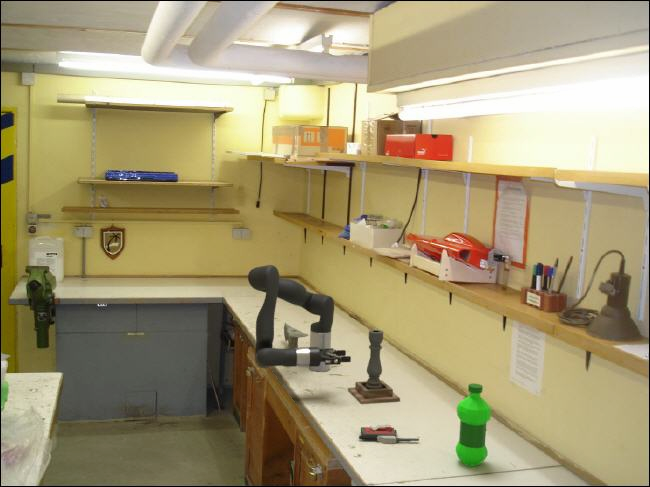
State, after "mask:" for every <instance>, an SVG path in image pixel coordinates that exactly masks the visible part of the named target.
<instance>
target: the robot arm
mask: <svg viewBox="0 0 650 487" xmlns="http://www.w3.org/2000/svg"><path fill="white" fill-rule="evenodd" d="M247 281H248V283H249V285H250V287H251V288H252V289H254V290H256V291H259V292H262V293H265V297H264V301H263V303H262V306H261V308H260V310H259V312H258V315H257V317H256V319H255V320H256V321H255V348H254V362H255V364H256V365H257V367H259V368H262V369H267V368H269V367H281V366H282V367H283V368H285V367H286V368H287V367H288V368H289V367H291V368H292V367H293V368H294V367H295V368H296V367H298V368H308V369H309V370H311V371H312V372H327V371H330V369H331V366H333V365H335V366H336V365H337V366H338V365H339V366H340V365H341V364H342V363H351V362H352V361H351V360H352V356H350V355H347V354H346V353H347V352H346V350H345V349H334V348H333V347H331V346H332V343H331V342H332V327H333V325H334V324H333V323H334V315H335V314H334V313H335V301H334V299H333V297H332V296H331V295H327V294H321V293H313V292H309V290H307V289H306V287H305V286H304V285H303V284H301V283H300V282H298V281H296V280H293V279H290V278H283V277H280V272H279V270H278V268H277V267H276V266H275V265H272V264H268V265H261V266H256V267H254V268H252V269H251V270H250V271H249V272H248V274H247ZM278 299H280V300H283V302H287V303H289V304H290V305H294V306H297V307H301V308H303V309H304V310H305V311H306V312H308V313H310V314H312V315H315V316H319V320H318V321H315V322H312V323H311V324H310V334H309V336H310V337H309V346H307V347H306V346H305V347H303V346H302V347H298V348H288V347H287V348H277V347H273V345H274V344H273V342H274V338H275V313H276V306H277V300H278ZM346 355H347V356H346Z"/></svg>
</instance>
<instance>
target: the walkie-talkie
mask: <svg viewBox="0 0 650 487" xmlns="http://www.w3.org/2000/svg"><path fill="white" fill-rule="evenodd" d="M397 436H398V433H397V429H395V428H394V427H392V426H391V425H389V424H378V425H377V426H373V425H369V427H367V426H363V427H362V426H361V427H360V435H359V436H358V439H359V440H362V441H363V442H378V443H381V444H395V445H396V443H399V442H407V443H408V442H420V438H409V437H408V438H406V437H404V438H403V437H401V438H400V437H397Z"/></svg>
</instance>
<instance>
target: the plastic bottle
mask: <svg viewBox="0 0 650 487" xmlns="http://www.w3.org/2000/svg"><path fill="white" fill-rule="evenodd" d="M483 388H484V387H483V385H482V384H479V383H469V384H468V387H467V391H468V392H469V395H468V396H467V397H465V398H463V400H461V401H460V402H458V404H457V406H456V414H457V416H458V419H459V420H460V422H459V424H460V425H459V439H458V442H457V444H456V446H455V453H456V456H457V457H458V459H459V460H460V461H461V462H462V464H464V465H466V466H468V467H477V466H479V465H480V464H482V463H483V462H484V461H485V460H486V459H487V456H488V454H489V453H488V448H487V446H486V434H487V433H486V432H487V423H488V422H489V421H490V420H491V417H492V408H491V407H490V405H489V404H488V403H487V402H486V401H485V400H484V398H483V397H481V394H482V393H483Z"/></svg>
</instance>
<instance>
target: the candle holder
mask: <svg viewBox="0 0 650 487" xmlns="http://www.w3.org/2000/svg"><path fill="white" fill-rule="evenodd" d="M383 340H384V331H383V330H380V329H370V330H368V341H369V346H368V349H369V351H370V353H369V354H370V355H369V356H370V357H369V360H368V364H367V366H366V373H367V375H368V379H367V380H366V381H367V384H366V389H367V390H371V389H381V386H382V385H381V379H380V377H381V375H382V373H383V368H382V367H383V366H382V361H381V350H382V349H383V346H382V343H383Z"/></svg>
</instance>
